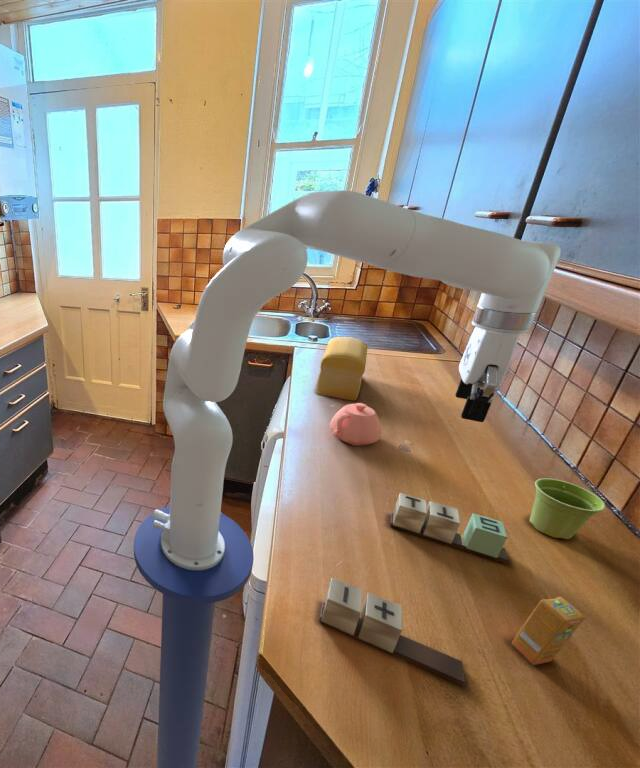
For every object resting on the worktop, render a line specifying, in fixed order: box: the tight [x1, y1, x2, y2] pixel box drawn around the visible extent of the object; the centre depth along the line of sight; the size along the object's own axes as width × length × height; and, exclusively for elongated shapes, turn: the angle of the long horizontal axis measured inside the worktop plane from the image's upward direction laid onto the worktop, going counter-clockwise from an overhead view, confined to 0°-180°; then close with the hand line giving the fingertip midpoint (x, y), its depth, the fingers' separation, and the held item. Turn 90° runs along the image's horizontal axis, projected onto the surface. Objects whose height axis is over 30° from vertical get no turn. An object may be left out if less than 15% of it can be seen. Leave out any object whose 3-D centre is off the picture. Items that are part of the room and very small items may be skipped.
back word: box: [389, 492, 509, 565], centre depth 77 cm, size 18×4×6 cm, turn 58°
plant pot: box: [529, 477, 606, 540], centre depth 78 cm, size 9×9×9 cm
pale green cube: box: [463, 512, 508, 558], centre depth 74 cm, size 4×4×5 cm
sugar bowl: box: [329, 402, 382, 447], centre depth 109 cm, size 12×14×10 cm
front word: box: [318, 577, 466, 687], centre depth 59 cm, size 18×4×6 cm, turn 58°
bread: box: [315, 336, 369, 402], centre depth 140 cm, size 24×13×15 cm, turn 150°
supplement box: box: [511, 596, 586, 666], centre depth 56 cm, size 3×3×10 cm
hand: (468, 408), depth 75 cm, fingers open, 9 cm apart
